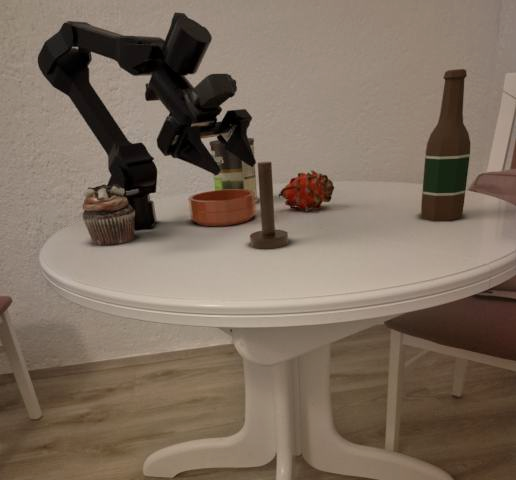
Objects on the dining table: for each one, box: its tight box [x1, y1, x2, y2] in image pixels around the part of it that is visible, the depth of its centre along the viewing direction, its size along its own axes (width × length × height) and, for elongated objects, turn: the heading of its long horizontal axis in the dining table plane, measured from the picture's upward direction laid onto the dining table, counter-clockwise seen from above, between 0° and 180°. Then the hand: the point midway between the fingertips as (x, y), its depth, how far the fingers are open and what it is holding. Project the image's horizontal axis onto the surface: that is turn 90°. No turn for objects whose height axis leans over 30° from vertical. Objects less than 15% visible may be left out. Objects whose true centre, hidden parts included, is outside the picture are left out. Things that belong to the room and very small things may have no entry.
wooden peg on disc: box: [249, 161, 289, 250], centre depth 79 cm, size 6×6×13 cm
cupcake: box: [81, 184, 136, 246], centre depth 90 cm, size 10×10×10 cm
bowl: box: [187, 189, 257, 227], centre depth 100 cm, size 14×14×5 cm
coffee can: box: [209, 137, 258, 204], centre depth 114 cm, size 10×10×14 cm
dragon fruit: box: [278, 169, 335, 212], centre depth 103 cm, size 8×8×12 cm
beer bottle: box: [420, 68, 471, 222], centre depth 85 cm, size 8×8×24 cm
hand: (237, 168), depth 79 cm, fingers open, 9 cm apart
